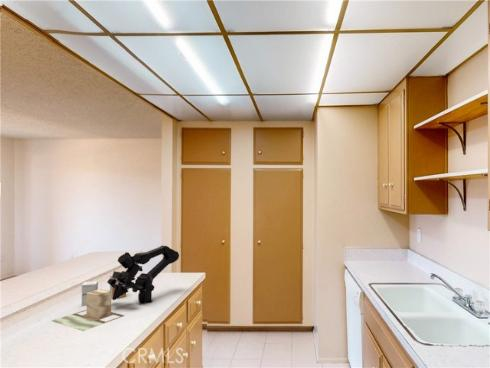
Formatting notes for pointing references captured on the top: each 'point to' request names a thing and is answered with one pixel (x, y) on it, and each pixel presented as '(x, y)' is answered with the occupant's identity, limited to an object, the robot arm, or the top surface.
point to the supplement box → (88, 290)
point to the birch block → (98, 303)
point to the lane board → (83, 321)
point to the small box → (114, 289)
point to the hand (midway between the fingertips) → (113, 299)
